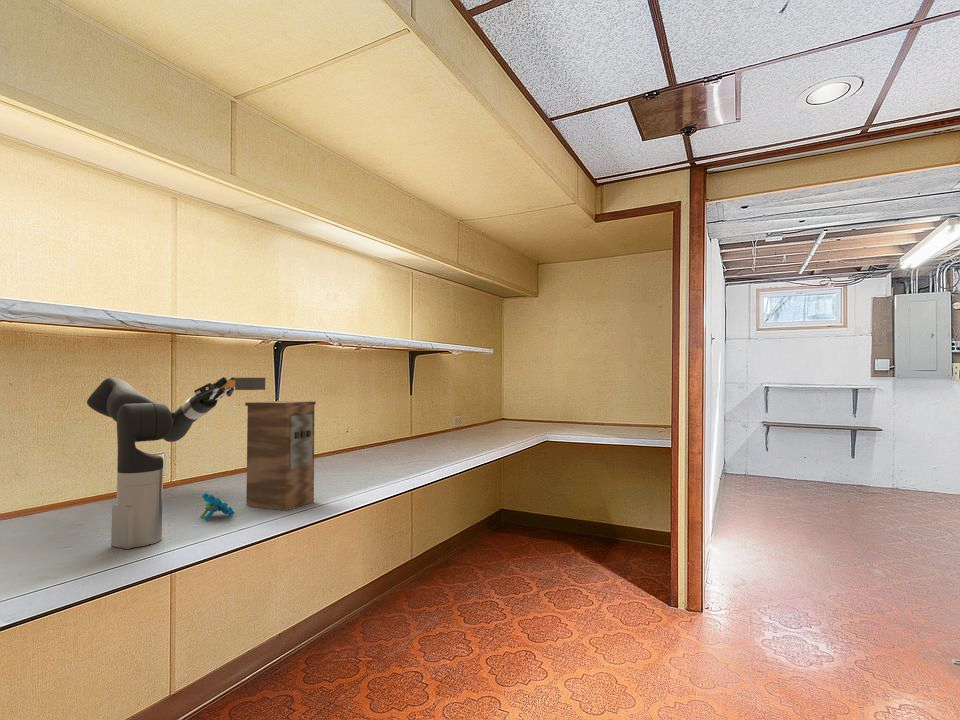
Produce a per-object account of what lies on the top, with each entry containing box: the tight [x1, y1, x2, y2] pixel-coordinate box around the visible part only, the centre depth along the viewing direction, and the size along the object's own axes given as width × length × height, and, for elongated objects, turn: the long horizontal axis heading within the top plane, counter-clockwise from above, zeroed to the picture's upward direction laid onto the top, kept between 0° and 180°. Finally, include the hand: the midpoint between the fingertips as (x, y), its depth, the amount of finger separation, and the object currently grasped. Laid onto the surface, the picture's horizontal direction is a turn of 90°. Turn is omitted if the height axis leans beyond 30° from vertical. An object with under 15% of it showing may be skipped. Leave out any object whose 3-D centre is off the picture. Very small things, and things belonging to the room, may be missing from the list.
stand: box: [244, 400, 317, 511], centre depth 158 cm, size 13×18×32 cm
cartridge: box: [216, 377, 266, 391], centre depth 166 cm, size 5×18×4 cm, turn 66°
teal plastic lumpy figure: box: [200, 492, 235, 521], centre depth 140 cm, size 11×6×10 cm
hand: (230, 379), depth 168 cm, fingers closed on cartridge, 3 cm apart
